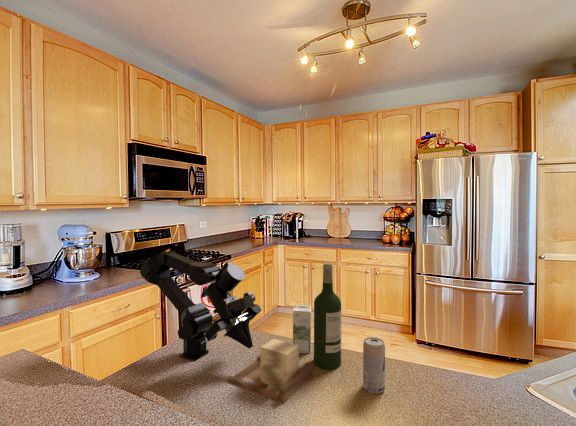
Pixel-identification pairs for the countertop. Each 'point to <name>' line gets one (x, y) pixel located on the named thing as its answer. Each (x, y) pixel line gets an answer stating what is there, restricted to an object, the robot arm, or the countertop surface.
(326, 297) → the wine bottle
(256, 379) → the tray
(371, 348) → the energy drink
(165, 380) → the countertop surface
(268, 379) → the maple block
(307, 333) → the syrup box
